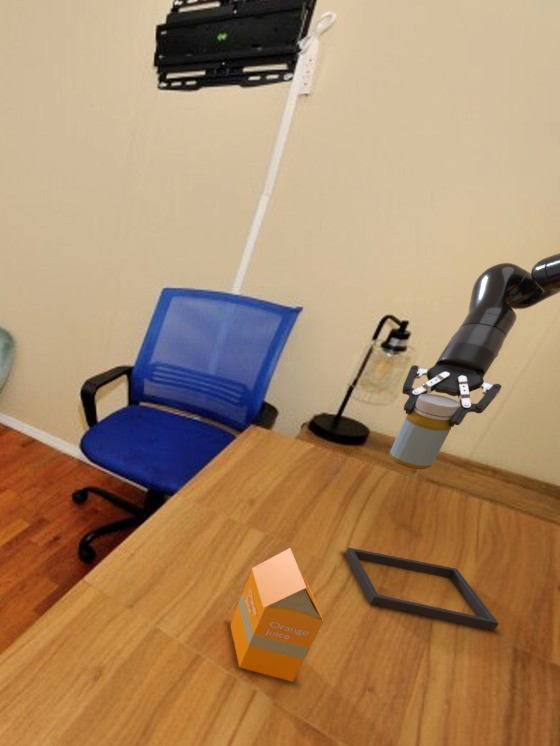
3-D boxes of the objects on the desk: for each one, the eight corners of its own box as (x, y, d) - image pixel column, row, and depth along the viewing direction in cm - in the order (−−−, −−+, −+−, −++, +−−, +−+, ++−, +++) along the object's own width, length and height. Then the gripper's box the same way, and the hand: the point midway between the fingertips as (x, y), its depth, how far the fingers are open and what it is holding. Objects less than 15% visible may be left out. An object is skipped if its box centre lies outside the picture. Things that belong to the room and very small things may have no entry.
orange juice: (278, 639, 88) (318, 553, 78) (292, 684, 80) (338, 595, 71) (228, 627, 90) (261, 541, 81) (237, 670, 83) (274, 581, 73)
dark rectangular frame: (450, 578, 99) (456, 568, 98) (491, 633, 88) (499, 623, 87) (343, 556, 105) (348, 547, 104) (368, 606, 94) (374, 596, 92)
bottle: (399, 468, 108) (429, 406, 101) (381, 451, 114) (408, 391, 107) (438, 472, 106) (471, 409, 99) (418, 454, 112) (448, 394, 105)
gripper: (426, 333, 107) (386, 398, 106) (525, 352, 97) (481, 424, 96) (423, 351, 112) (384, 413, 112) (516, 370, 102) (474, 439, 101)
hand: (429, 418), depth 104 cm, fingers closed on bottle, 6 cm apart
